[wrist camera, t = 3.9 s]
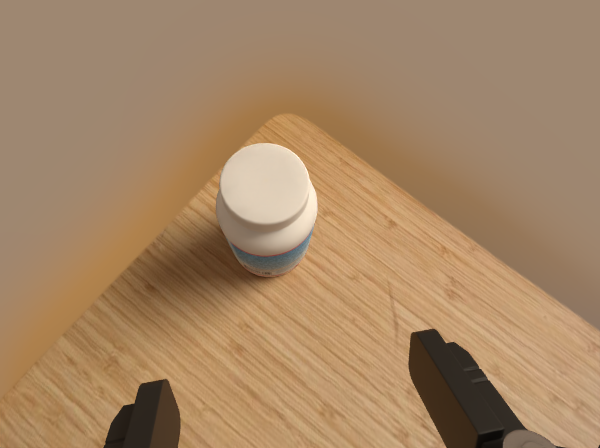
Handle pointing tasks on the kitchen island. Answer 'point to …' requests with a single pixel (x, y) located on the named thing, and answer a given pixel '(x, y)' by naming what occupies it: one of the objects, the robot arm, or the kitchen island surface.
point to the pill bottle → (266, 208)
